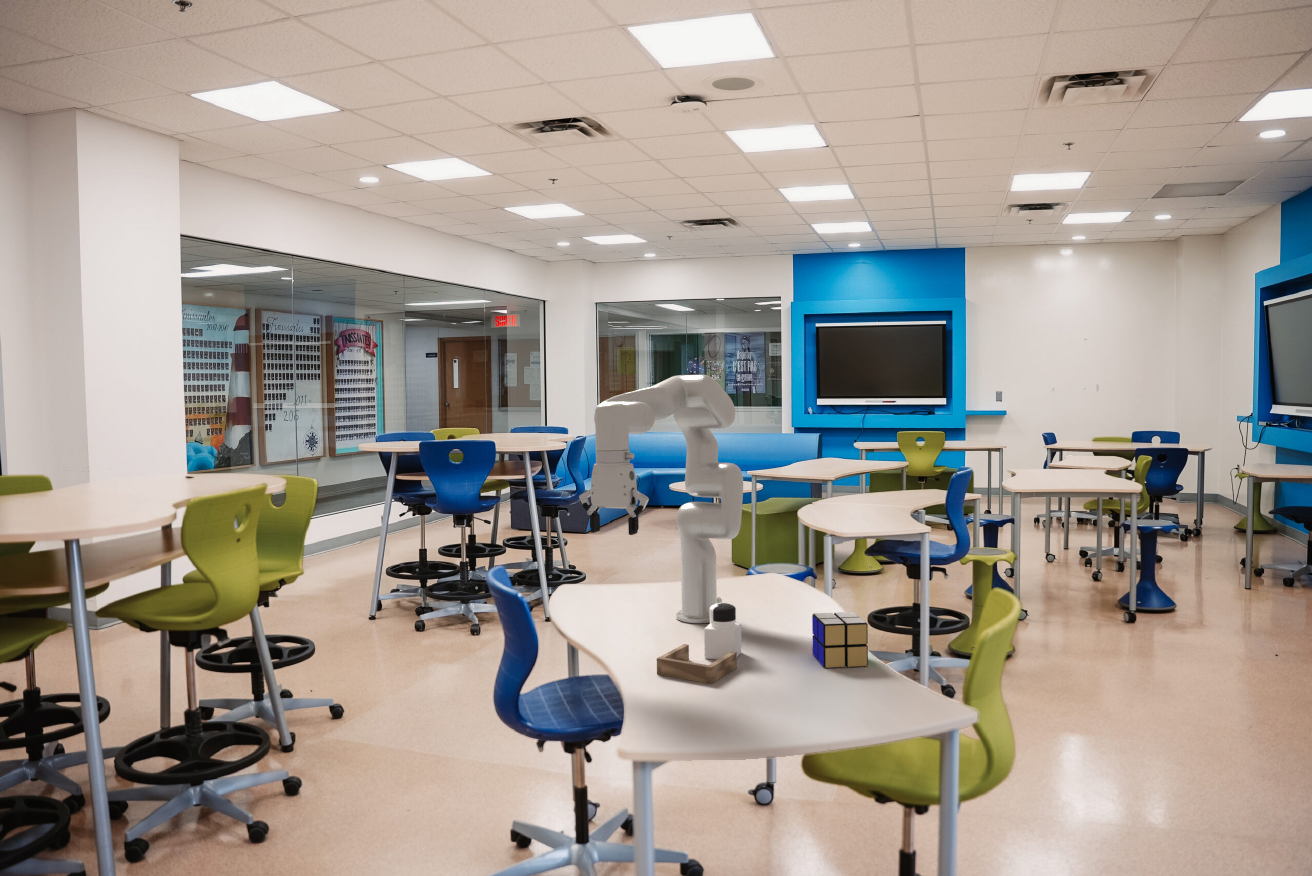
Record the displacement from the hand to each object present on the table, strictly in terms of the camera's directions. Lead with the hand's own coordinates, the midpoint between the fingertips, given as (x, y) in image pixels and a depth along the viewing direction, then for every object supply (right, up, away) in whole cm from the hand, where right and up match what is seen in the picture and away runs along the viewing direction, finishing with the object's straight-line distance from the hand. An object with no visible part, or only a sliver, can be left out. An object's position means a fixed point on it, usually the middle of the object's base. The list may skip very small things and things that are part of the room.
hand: (614, 532), depth 198 cm
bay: (+19, -30, -5) cm, 36 cm away
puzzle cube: (+51, -29, 0) cm, 59 cm away
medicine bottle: (+25, -29, +5) cm, 39 cm away
